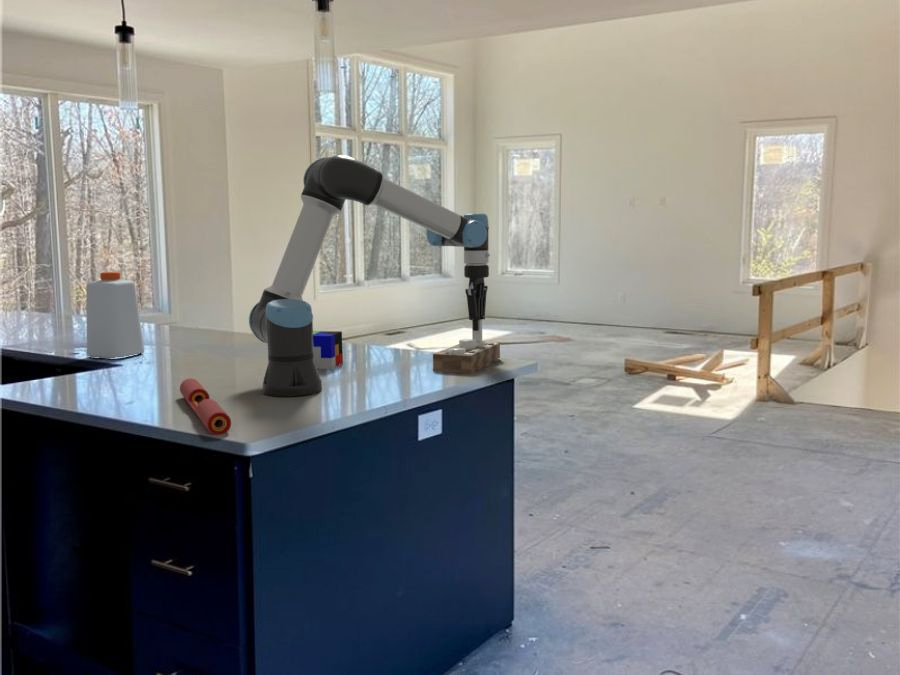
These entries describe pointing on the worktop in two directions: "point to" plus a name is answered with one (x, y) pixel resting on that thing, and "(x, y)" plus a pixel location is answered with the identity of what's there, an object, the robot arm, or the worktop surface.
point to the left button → (457, 351)
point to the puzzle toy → (327, 349)
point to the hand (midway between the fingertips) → (477, 340)
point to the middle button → (467, 344)
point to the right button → (480, 343)
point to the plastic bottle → (112, 317)
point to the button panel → (466, 359)
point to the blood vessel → (205, 407)
